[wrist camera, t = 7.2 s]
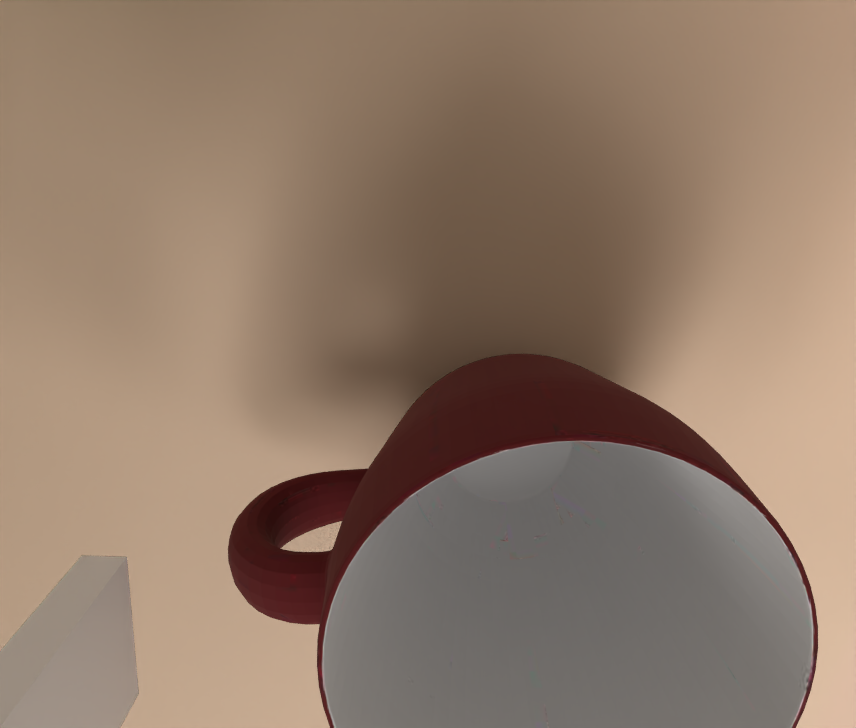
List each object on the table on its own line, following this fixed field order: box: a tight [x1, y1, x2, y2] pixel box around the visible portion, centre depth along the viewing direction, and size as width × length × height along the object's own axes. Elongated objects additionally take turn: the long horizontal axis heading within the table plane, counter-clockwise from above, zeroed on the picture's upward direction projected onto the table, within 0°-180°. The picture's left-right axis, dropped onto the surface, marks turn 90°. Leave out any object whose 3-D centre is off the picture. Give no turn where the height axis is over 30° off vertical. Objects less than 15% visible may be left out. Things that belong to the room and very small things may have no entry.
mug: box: [228, 354, 818, 728], centre depth 17 cm, size 10×8×10 cm
